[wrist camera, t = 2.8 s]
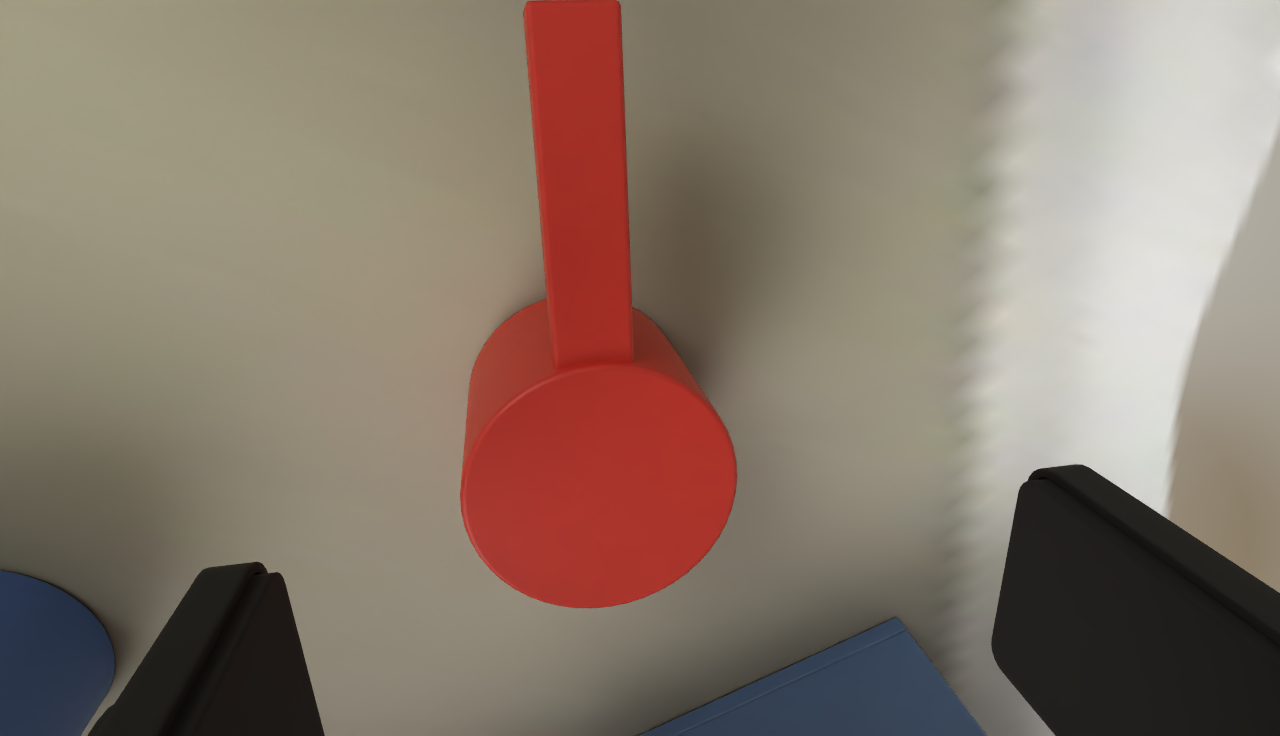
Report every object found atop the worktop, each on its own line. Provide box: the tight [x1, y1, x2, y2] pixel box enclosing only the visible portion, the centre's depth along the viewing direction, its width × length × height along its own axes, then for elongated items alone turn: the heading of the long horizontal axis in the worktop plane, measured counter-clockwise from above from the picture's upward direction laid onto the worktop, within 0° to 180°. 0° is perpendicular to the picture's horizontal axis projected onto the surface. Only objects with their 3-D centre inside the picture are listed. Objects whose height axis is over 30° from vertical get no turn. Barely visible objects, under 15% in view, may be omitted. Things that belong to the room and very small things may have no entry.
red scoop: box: [460, 0, 737, 608], centre depth 12 cm, size 9×4×4 cm, turn 2°
